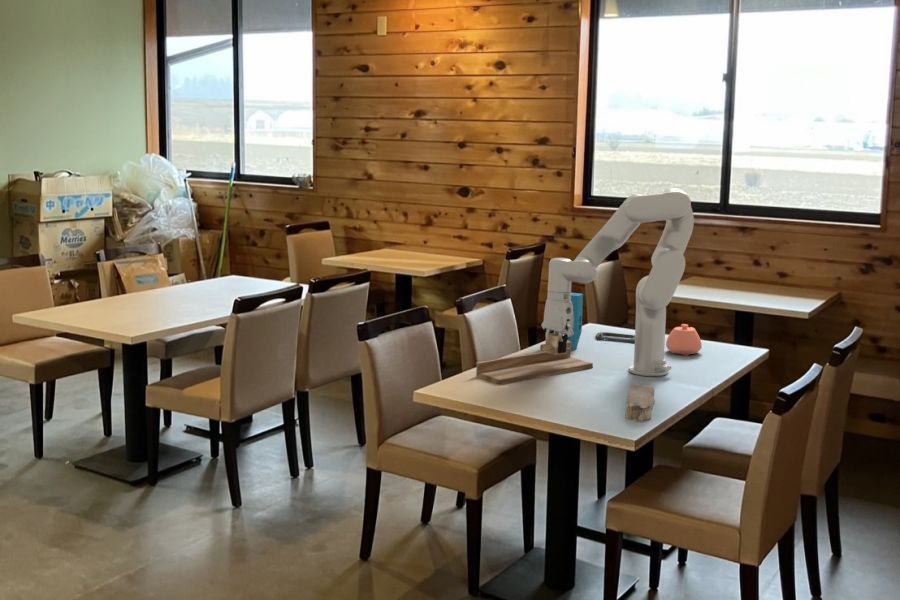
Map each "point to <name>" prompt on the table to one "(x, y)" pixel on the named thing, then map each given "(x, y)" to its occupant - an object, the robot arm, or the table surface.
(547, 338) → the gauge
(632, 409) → the beige mottled oblong part
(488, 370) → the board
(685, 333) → the sugar bowl
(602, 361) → the table surface
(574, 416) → the table surface
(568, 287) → the robot arm
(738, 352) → the table surface
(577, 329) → the block
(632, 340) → the c clamp
